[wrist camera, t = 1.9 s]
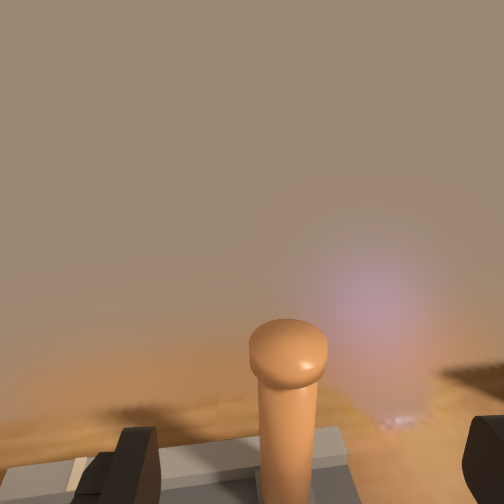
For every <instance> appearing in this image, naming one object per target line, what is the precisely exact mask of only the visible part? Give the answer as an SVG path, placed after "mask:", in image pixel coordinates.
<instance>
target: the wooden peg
mask: <svg viewBox="0 0 504 504" xmlns="http://www.w3.org/2000/svg"><path fill="white" fill-rule="evenodd" d="M327 349H328V344H327V340H326V338H325V336H324V335H323V333H322V332H321V331H320V330H319V329H318V328H316V327H315V326H313V325H311V324H309V323H307V322H304V321H300V320H295V319H278V320H274V321H270V322H267V323H265V324H263V325H261V326H259V327H258V328H257V329H256V330H255V331H254V332H253V333H252V335H251V337H250V341H249V355H250V366H251V369H252V371H253V373H254V374H255V376H257V378H258V403H259V439H260V469H255V484H256V492H257V499H258V504H317V503H316V499H315V496H314V492H313V488H312V484H311V473H312V458H313V442H314V426H315V410H316V395H317V381H318V380H319V379H320V378H321V377H322V375H323V374H324V372H325V369H326V362H327V361H326V360H327Z"/></svg>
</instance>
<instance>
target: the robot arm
mask: <svg viewBox="0 0 504 504" xmlns="http://www.w3.org/2000/svg"><path fill="white" fill-rule="evenodd" d="M462 470H463V475H464V478H465V481H466V484H467V486H468V488H469V490H470V491H471V493H472V495H473V496H474V498H475V500H476V501H477V503H478V504H504V415H490V416H475V417H474V418H473V420H472V422H471V426H470V430H469V434H468V438H467V442H466V446H465V450H464V454H463V459H462ZM160 493H161V466H160V458H159V449H158V441H157V433H156V428H155V427H134V428H124V429H123V430H122V432H121V435H120V438H119V441H118V444H117V447H116V450H115V452H99V454H98V455H97V456H96V457H95V458H94V459H93V461H92V462H91V463H90V464H89V465H88V467H87V468H86V469H85V470H84V471H83V473H82V476H81V478H80V481H79V483H78V486H77V488H76V491H75V493H74V498H73V499H72V501H71V503H70V504H159V500H160Z"/></svg>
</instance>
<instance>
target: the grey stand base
mask: <svg viewBox="0 0 504 504" xmlns="http://www.w3.org/2000/svg"><path fill="white" fill-rule="evenodd" d="M94 458H95V457H90V458H87V457H81V458H75V460H67V461H59V462H51V463H43V464H36V465H28V466H20V467H12V468H8V470H7V472H6V474H5V477H4V479H3V481H2V483H1V486H0V504H70V503H71V501H72V499H73V498H74V493H75V491H76V488H77V486H78V483H79V481H80V478H81V476H82V473H83V471H84V470H85V469H86V468H87V467H88V465H89V464H90V463H91V462H92V461H93V459H94ZM159 458H160V466H161V493H160V500H159V504H258V499H257V492H256V484H255V469H260V439H259V436H253V437H245V438H238V439H230V440H222V441H214V442H207V443H199V444H191V445H183V446H176V447H168V448H160V449H159ZM347 462H348V451H347V448H346V446H345V443H344V440H343V438H342V435H341V432H340V430H339V427H338V426H331V427H323V428H315V429H314V442H313V458H312V473H311V484H312V488H313V492H314V496H315V499H316V503H317V504H361V501H360V498H359V496H358V493H357V490H356V487H355V485H354V482H353V479H352V476H351V474H350V471H349V468H348V465H347Z"/></svg>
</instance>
